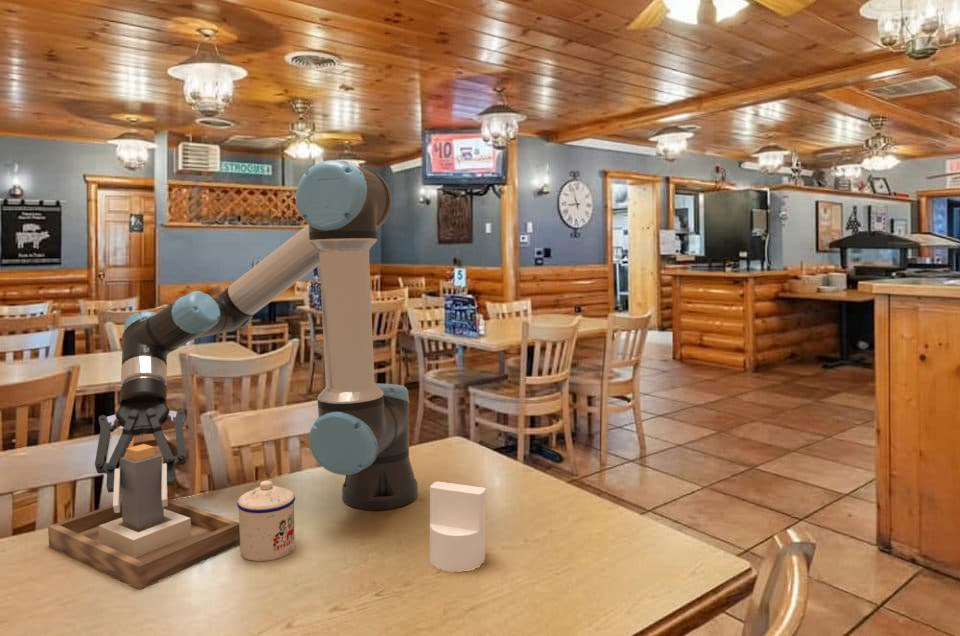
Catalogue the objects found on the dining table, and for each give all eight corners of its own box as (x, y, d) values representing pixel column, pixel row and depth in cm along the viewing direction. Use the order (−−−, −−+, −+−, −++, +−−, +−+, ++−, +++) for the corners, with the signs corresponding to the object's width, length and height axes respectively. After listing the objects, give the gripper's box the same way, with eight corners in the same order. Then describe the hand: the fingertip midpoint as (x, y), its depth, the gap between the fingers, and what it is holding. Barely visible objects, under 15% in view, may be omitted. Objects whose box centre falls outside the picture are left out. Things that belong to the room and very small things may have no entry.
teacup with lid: (283, 564, 103) (281, 493, 102) (228, 561, 104) (226, 490, 103) (310, 532, 115) (309, 468, 114) (261, 529, 116) (259, 466, 115)
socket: (191, 534, 111) (190, 518, 111) (134, 558, 103) (133, 540, 102) (156, 521, 116) (155, 505, 116) (99, 542, 108) (98, 525, 107)
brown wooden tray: (241, 543, 110) (241, 523, 110) (139, 589, 95) (138, 566, 95) (151, 510, 124) (150, 492, 124) (49, 546, 109) (47, 526, 108)
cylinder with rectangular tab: (492, 551, 108) (493, 481, 107) (474, 576, 100) (474, 501, 99) (442, 543, 111) (442, 475, 110) (420, 567, 103) (420, 493, 102)
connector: (163, 518, 110) (161, 446, 109) (138, 528, 106) (135, 453, 105) (148, 513, 112) (145, 442, 111) (122, 522, 109) (119, 448, 107)
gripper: (201, 394, 125) (205, 507, 112) (85, 402, 117) (75, 524, 104) (200, 372, 120) (204, 488, 107) (79, 379, 112) (67, 504, 99)
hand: (140, 505), depth 106 cm, fingers closed on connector, 6 cm apart
